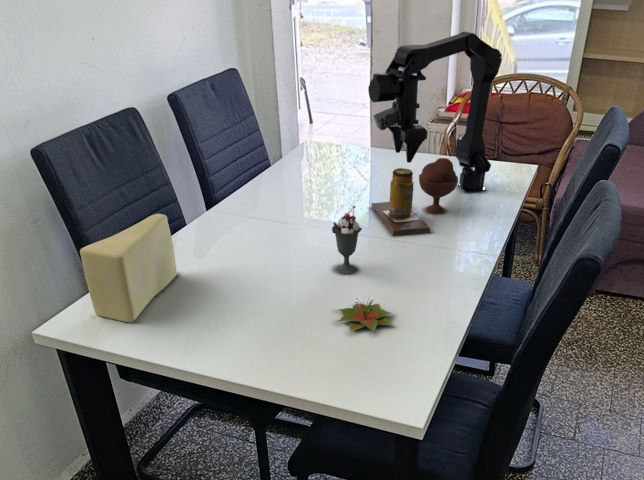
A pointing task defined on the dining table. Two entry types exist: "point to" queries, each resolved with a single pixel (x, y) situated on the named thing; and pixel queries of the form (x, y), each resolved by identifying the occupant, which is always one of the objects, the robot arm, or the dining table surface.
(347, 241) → the sundae
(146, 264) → the cheese
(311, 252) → the dining table surface
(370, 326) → the lily flower
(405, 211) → the condiment
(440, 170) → the ice cream bowl
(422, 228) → the walnut board
